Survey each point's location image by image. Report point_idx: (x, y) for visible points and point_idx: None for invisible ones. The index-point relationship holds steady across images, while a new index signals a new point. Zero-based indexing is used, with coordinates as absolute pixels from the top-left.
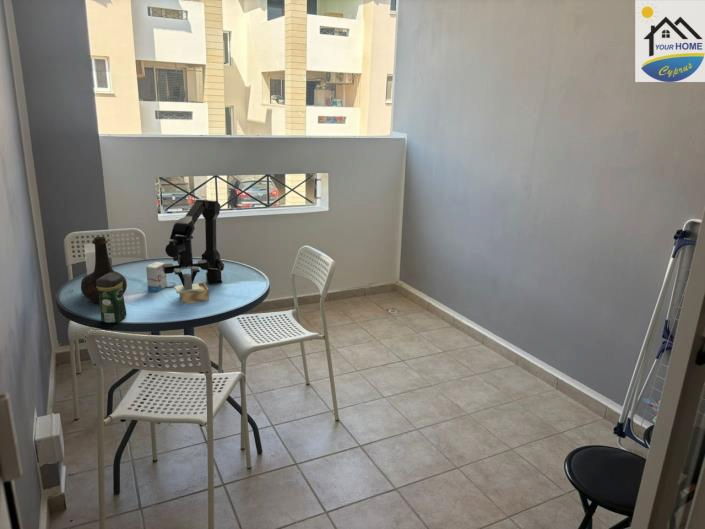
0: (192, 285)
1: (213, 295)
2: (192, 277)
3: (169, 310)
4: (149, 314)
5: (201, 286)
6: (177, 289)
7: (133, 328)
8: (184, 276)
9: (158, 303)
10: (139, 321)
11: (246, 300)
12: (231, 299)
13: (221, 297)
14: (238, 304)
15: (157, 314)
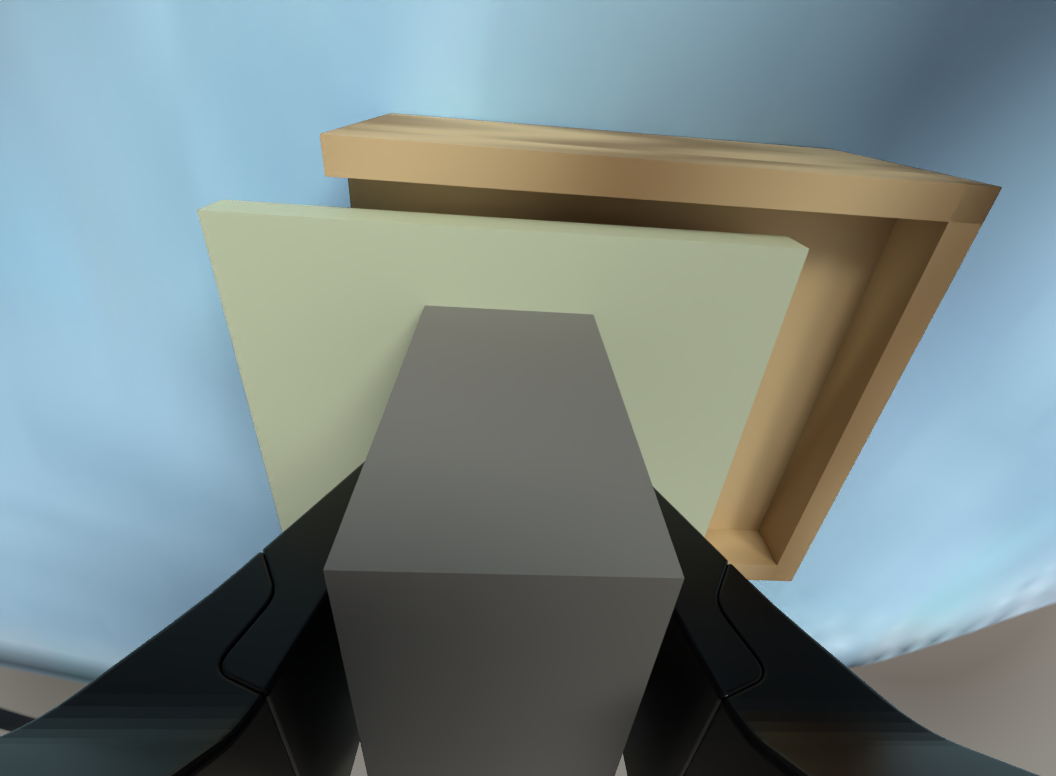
0: (637, 341)
1: None
2: (634, 748)
3: (251, 539)
4: (49, 555)
5: (829, 268)
6: (288, 448)
7: (3, 709)
8: (395, 767)
9: (62, 294)
10: (3, 640)
11: (1011, 580)
12: (930, 515)
13: (894, 427)
14: (882, 623)
15: (138, 578)
